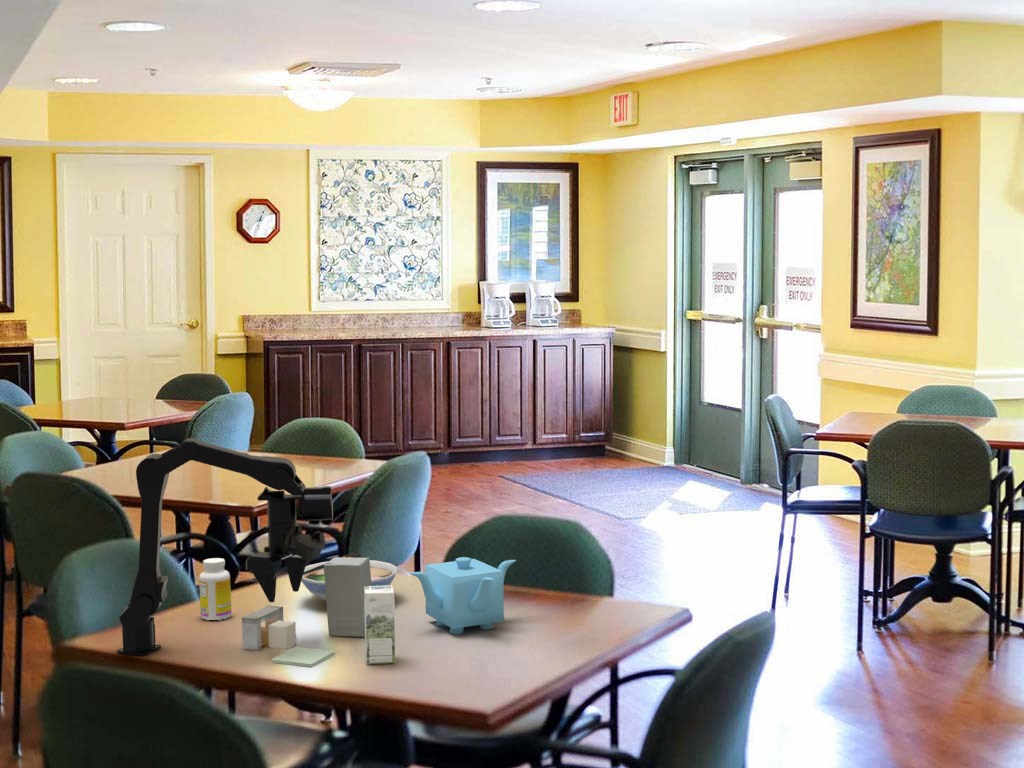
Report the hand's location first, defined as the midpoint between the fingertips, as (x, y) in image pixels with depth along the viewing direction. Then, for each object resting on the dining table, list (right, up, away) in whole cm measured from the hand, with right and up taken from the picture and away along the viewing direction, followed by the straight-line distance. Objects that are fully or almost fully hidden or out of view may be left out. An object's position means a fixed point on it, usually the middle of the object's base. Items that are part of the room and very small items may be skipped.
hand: (283, 596), depth 281 cm
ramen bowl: (+9, -7, +36) cm, 37 cm away
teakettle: (+37, -9, +14) cm, 40 cm away
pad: (+5, -11, -8) cm, 14 cm away
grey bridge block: (-5, -10, +3) cm, 11 cm away
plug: (-3, -10, +2) cm, 11 cm away
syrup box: (+21, -11, -10) cm, 25 cm away
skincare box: (+12, -9, +10) cm, 18 cm away
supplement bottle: (-19, -8, +23) cm, 31 cm away
